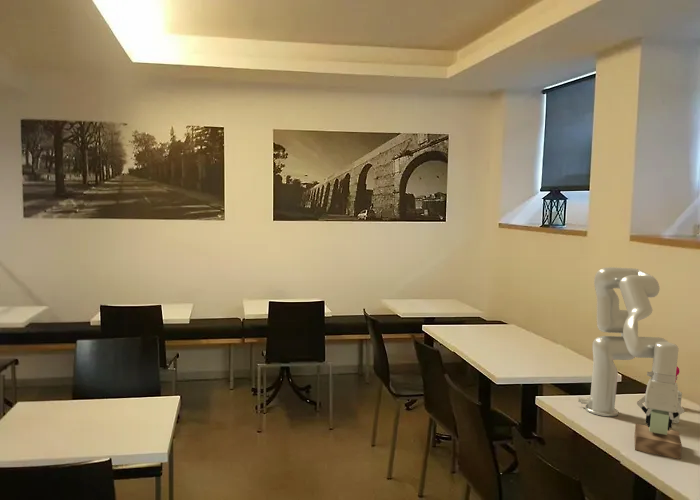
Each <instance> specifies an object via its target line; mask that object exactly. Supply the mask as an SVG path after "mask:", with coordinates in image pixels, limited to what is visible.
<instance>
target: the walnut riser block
mask: <svg viewBox="0 0 700 500" xmlns="http://www.w3.org/2000/svg"><path fill="white" fill-rule="evenodd" d="M679 433H680V431H679V430H678V431H677V430H674V429H673V430H672V429H669V431H667V435H664V434H659V433H654V432H650V431H649V427H648V425H644V424H639V423H635V426H634V437H633V438H634V439H633V440H634V451H637V452H644V453H647V454H652V455H653V454H654V455H657V454H658V456H662V455H663V456H664V457H668V458H673V459H679V460H681V456H682V455H681V454H682V446H683V444H682V441H681V436H680V434H679Z"/></svg>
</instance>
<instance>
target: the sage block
mask: <svg viewBox="0 0 700 500" xmlns="http://www.w3.org/2000/svg"><path fill="white" fill-rule="evenodd" d="M650 414H651V420H650V427H649V431H650V432H654V433H659V434H664V435H667V431H668V421H669V413H668V412H666V411H660V410H654V409H652V411H651V413H650Z"/></svg>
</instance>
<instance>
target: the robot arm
mask: <svg viewBox="0 0 700 500" xmlns="http://www.w3.org/2000/svg"><path fill="white" fill-rule="evenodd" d="M593 278H594V280H593V285H594V286H593V287H594V291H595V295H596V326H597V329H598V330H599V331H600V332H603V333H609V334H610V333H612V334H620V335H602V336H601V335H600V336H598V337H596V338H594V340H593V341H592V343H591V345H592V358H593V359H592V362H593V363H592V375H591V384H590V386H591V387H590V396H589V398H588V397H587V398H583V397H578V402H577V403H580V404H581V405H585V410H586V411H587V412H589V413H591V414H594V415H598V416H602V417H615V416H618V415H619V411H618V409H617V408H616V395H617V385H618V375H619V374H618V373H619V372H618V367H617V366H616V364H615V363H614V361H616V360H617V361H618V360H620V361H629V360H633V359H635V358H638V359H639V358H641V359H642V358H643V359H644V358H645V359H648V358H649V359H652V366H651V371H647V372H646V376H647V377H650V378H649V379H648V382H647V385H646V389H645V390H646V391H645V395H644V396H643V397H642V398H641V399H639V400H638V401H637V402H636V405H637V406H638V407H639V408H640V409H641V410H642V411H643V413H644V414H645V424H647V425H646V426H648V427H650V420H651V414H650V413H651V411H652V409H654V410H660V411H666V412H668V413H669V421H668V431H669V430H670V428H671V429H672V427H673V423H672V420H673V419H674V418H676V417H677V416H679V415H682V414H684V413H685V409H684V408H683V406H682V404H681V405H680V404H679V403H678V391H679V386H678V383H677V381H676V382H675V378H676V369H677V367H678V357H679V346H678V345H677V344H675V343H672V342H670V341H668V340H667V339H665V338H664V337H658V336H657V337H655V336H654V337H653V336H639V321H641V320H644V319H646V318H648V317H650V316H651V315H652V314H653V307H652V305H651V301H650V298H651V299H652V298H655V297H657V296H658V295H659V293H660V290H661V289H660V283H659V282H658V280H657V278H656V277H654V276H653V275H651V274H650V273H647V272H645V271H643V270H641V269H639V268H631V267H630V268H628V267H614V266H613V267H612V266H611V267H610V266H609V267H603V268H600V269H599V270H597V271H596V273H595V275H594V277H593ZM615 289H616V290H617V289H619V290H620V293H621V296H622V300H623V302H624V305H625V308H626V309H620V298H619V296H618V294H617V292H616V291H615ZM677 408H678V409H679V410H678V411H677ZM672 412H674V413H672Z"/></svg>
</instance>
